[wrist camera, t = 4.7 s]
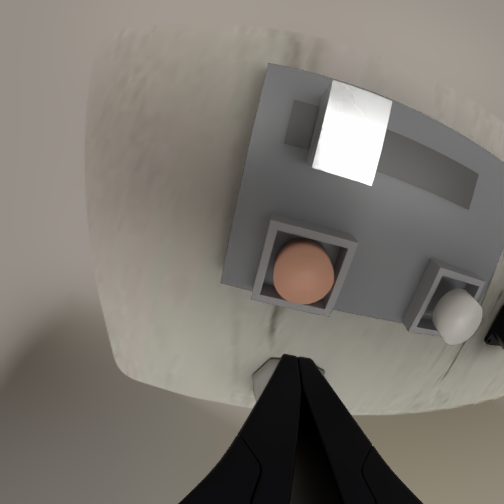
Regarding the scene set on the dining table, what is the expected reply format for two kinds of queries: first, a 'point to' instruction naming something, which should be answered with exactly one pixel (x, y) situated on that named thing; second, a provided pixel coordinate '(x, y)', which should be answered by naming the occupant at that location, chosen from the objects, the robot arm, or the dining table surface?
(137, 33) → the dining table surface
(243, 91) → the dining table surface
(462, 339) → the grey button
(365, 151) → the rough gray brick
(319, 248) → the terracotta button
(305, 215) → the panel
